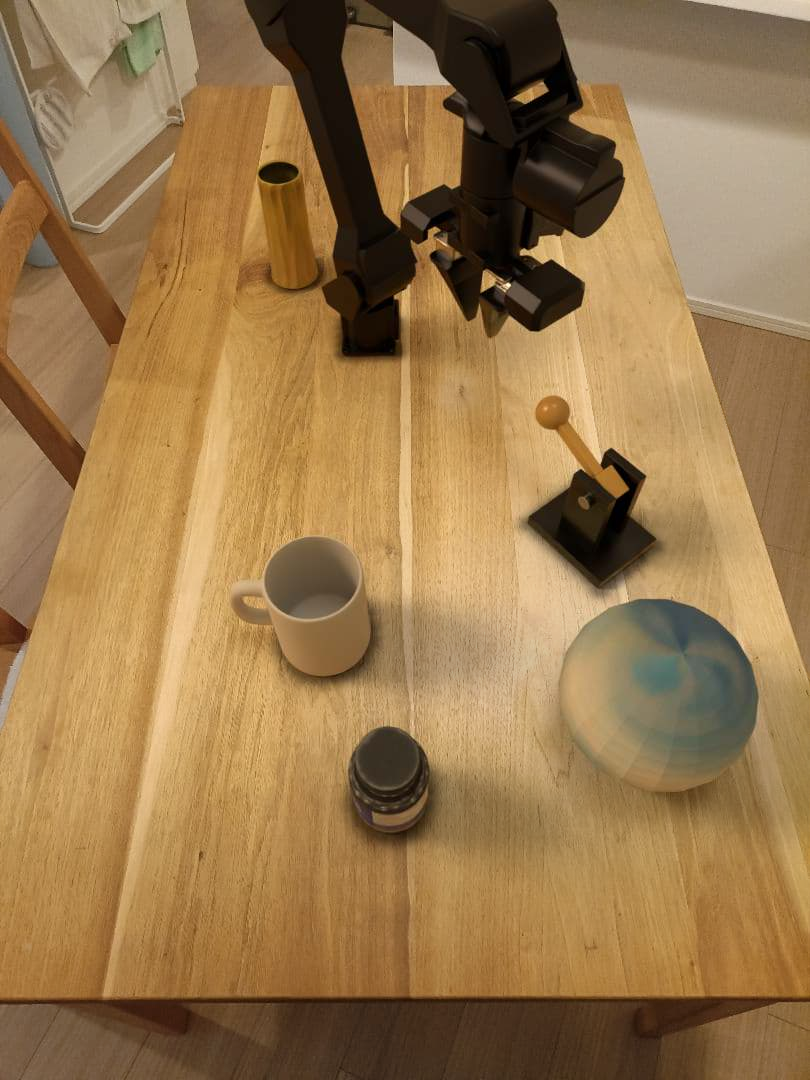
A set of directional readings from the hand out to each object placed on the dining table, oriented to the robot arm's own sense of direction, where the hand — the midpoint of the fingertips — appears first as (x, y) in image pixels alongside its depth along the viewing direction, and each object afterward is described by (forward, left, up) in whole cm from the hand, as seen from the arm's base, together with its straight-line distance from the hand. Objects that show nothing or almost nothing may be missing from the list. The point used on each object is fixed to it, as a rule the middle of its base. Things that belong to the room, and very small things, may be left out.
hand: (481, 327), depth 76 cm
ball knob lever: (+8, -12, -5) cm, 16 cm away
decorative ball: (+12, -36, -13) cm, 40 cm away
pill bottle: (-9, -42, -13) cm, 45 cm away
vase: (-22, +25, -13) cm, 36 cm away
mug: (-17, -27, -13) cm, 35 cm away
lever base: (+11, -16, -13) cm, 23 cm away
